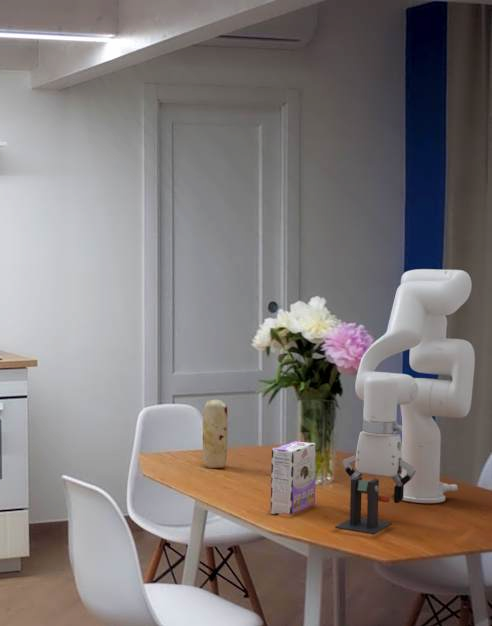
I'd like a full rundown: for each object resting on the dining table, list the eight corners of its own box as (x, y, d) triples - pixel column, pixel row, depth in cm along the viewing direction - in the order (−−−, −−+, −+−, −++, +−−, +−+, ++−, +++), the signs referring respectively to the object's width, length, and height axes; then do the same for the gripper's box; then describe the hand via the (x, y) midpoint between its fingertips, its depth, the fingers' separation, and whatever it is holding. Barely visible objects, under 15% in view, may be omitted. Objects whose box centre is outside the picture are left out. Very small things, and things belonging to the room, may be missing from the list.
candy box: (293, 503, 272) (295, 440, 271) (315, 507, 268) (317, 442, 267) (269, 514, 261) (270, 447, 260) (291, 517, 258) (293, 450, 257)
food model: (232, 469, 316) (233, 402, 314) (213, 470, 313) (214, 403, 312) (215, 462, 325) (216, 397, 324) (196, 464, 322) (197, 398, 321)
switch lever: (367, 502, 256) (369, 492, 256) (388, 505, 252) (390, 495, 253) (351, 489, 247) (353, 479, 247) (372, 492, 244) (374, 481, 244)
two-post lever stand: (354, 521, 254) (355, 472, 254) (391, 527, 249) (393, 477, 248) (334, 531, 245) (336, 481, 244) (373, 538, 240) (374, 486, 239)
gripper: (421, 430, 250) (419, 502, 251) (349, 422, 261) (347, 491, 262) (411, 433, 244) (408, 507, 245) (338, 425, 255) (336, 496, 256)
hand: (377, 499), depth 253 cm, fingers open, 9 cm apart
